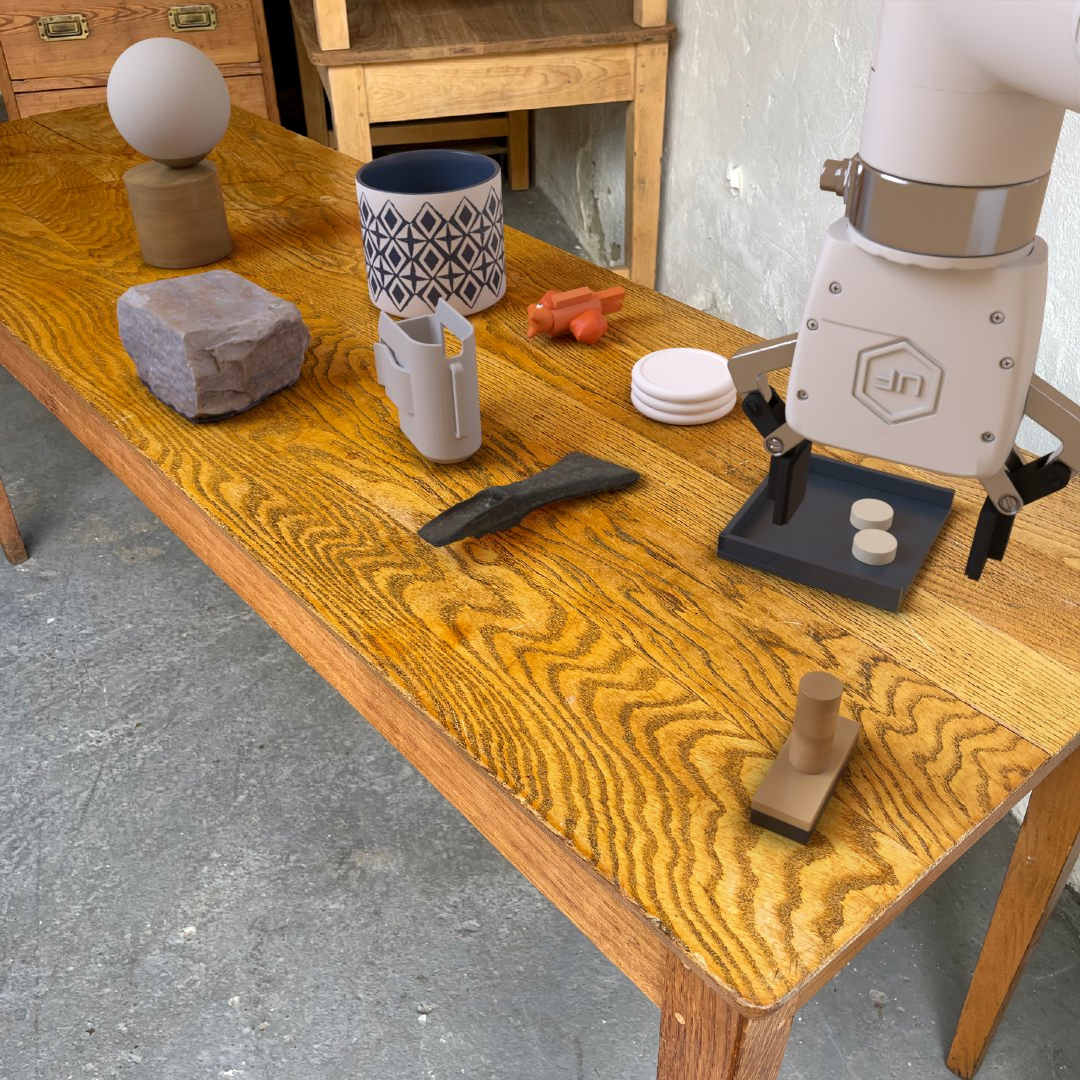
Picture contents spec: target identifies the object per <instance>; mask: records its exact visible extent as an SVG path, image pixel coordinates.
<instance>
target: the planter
mask: <svg viewBox="0 0 1080 1080" xmlns="http://www.w3.org/2000/svg"><path fill="white" fill-rule="evenodd" d="M354 179H355V187H356V188H355V189H356V196H357V197H356V198H357V206H358V215H359V223H360V231H361V239H362V247H363V256H364V261H365V262H364V264H365V271H366V279H367V286H368V293H369V299H370V301H371V302H372V304H373V306H375V307H376V308H378V310H380V311H384V312H385V313H386V314H389V315H391V316H394V317H398V318H401V319H405V320H406V319H410V318H414V317H419V316H423V315H433V314H435V312H436V308H437V304H438V300H439V298H443V299H444V300H445V301H446V302H447V303H448V304H449V305H451V306H452V307H453V308H454V309H455V310H456V311H457V312H459V313H460V314H461V315H462V316H463V317H464V318H465V317H467V316H468V317H469V316H471V315H475V314H477V313H480V312H483V311H485V310H486V309H489V308H490V307H492V306H494V305H495V304H497V303H498V302H499V301H500V300H501V299H502V298H503V296H504V295H505V293H506V291H507V272H506V271H507V270H506V249H505V231H504V229H505V228H504V207H503V206H504V205H503V189H502V186H503V185H502V173H501V167H500V164H499V163H498V162H497V161H496V160H495V159H493V158H492V157H489V156H487V155H485V154H482V153H478V152H473V151H467V150H461V149H460V150H459V149H443V148H442V149H441V148H440V149H439V148H438V149H419V150H411V151H404V152H397V153H392V154H389V155H385V156H381V157H378V158H376V159H373V160H371V161H369V162H366V163H364V164H363V165H362V166H360V167H359V168H358V170H357V171H356V173H355V175H354Z"/></svg>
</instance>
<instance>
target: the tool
mask: <svg viewBox="0 0 1080 1080" xmlns="http://www.w3.org/2000/svg"><path fill="white" fill-rule="evenodd" d="M641 477H642V475H641V473H639V472H637V471H635V470H633V469H631V468H628V467H624V466H622V465H619V464H616V463H614V462H610V461H607V460H604V459H603V458H600V457H599V458H598V457H595V456H591V455H589V454H585V453H583V452H580V451H572V452H570V453H569V454H567V455H565V456H563V457H562V458H561V459H560V460H558V461H557V462H556V463H555V464H551V465H550V466H549V467H548V468H546V469H544V470H541V471H539V472H537V473H536V474H533V475H531V476H530V477H528V478H525V479H523V480H518V481H513V482H510V483H508V484H504V485H493V486H489V487H486V488H484V489H481V490H479V491H478V492H476V493H475V494H473V495H472V496H470V497H468V498H467V499H464V500H463V501H459V502H456V503H454V504H453V505H452V506H451V507H448V508H447V509H446V510H444V511H442V512H440V513H439V514H437V515H436V517H433V518H432V519H429V520H428V521H427V522H426V523H424V524H423V526H422V527H421V528H420V529H418V530H416V534H417V535H418V536H419V537H420V539H422V541H424V542H425V543H428V544H429V545H431V546H432V547H433V548H442V547H445V546H449V545H451V544H454V543H456V542H460V541H463V540H465V539H466V538H474V539H476V540H480V539H482V538H483V537H485V536H487V535H489V534H490V535H495V534H496V533H501V532H506V531H508V530H511V529H512V528H515V527H517V526H518V525H519V524H521V523H522V521H524V519H526V517H528V516H529V515H531V514H532V513H534V512H536V511H538V510H541V509H542V508H544V507H546V506H548V505H551V504H555V503H558V502H563V501H567V500H572V499H576V498H581V497H585V496H589V495H593V494H594V495H595V494H598V493H601V492H605V491H610V490H621V489H625V488H627V487H631V486H634V485H636V484H637V483H638V481H639V480H640V478H641Z"/></svg>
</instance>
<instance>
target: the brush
mask: <svg viewBox="0 0 1080 1080" xmlns="http://www.w3.org/2000/svg"><path fill="white" fill-rule="evenodd" d="M843 691H844V686H843V683H842V682H841V680H840V679H839V678H838V677H837V676H835V675H834V674H832V673H830V672H826V671H821V670H814V671H809V672H807V673H804V674H803V675H802V676H801V677H800V679H799V682H798V688H797V695H796V701H795V708H794V715H793V723H792V730H791V732H790V733H789V735H788V736H787V738H786V740H785V741H784V744H783V745H782V747H781V749H780V750H779V752H778V754H777V755H776V757H775V759H774V761H773V763H772V764H771V766H770V768H769V770H768V771H767V773H766V775H765V776H764V778H763V780H762V782H761V784H760V785H759V787H758V788H757V790H756V792H755V794H754V795H753V796H752V800H751V807H750V814H749V823H751V824H753V825H756V826H758V827H760V828H762V829H765V830H767V831H769V832H771V833H774V834H777V835H779V836H781V837H784V838H787V839H789V840H791V841H793V842H796V843H798V844H800V845H803V846H806V847H807V846H808V844H809V843H810V841H811V838H812V836H813V835H814V832H815V831H816V829H817V826H818V825H819V823H820V821H821V819H822V817H823V815H824V813H825V811H826V809H827V807H828V805H829V803H830V801H831V798H832V797H833V795H834V793H835V792H836V789H837V787H838V785H839V783H840V781H841V779H842V778H843V775H844V773H845V772H846V769H847V768H848V766H849V764H850V762H851V759H852V758H853V756H854V753H855V751H856V749H857V748H858V745H859V741H860V735H861V734H860V733H861V729H862V723H861V722H858V721H856V720H852V719H850V718H848V717H844V716H841V715H839V714H840V709H841V702H842V698H843Z"/></svg>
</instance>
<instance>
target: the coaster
mask: <svg viewBox="0 0 1080 1080" xmlns="http://www.w3.org/2000/svg"><path fill="white" fill-rule="evenodd" d="M728 360H729V359H727V358H726V357H725V356H723V355H721V354H718V353H717V352H713V351H710V350H707V349H703V348H700V349H699V348H694V347H673V348H672V347H671V348H665V349H660V350H656V351H653V352H650V353H648V354H646V355H644V356H643V357H641V358H640V359H638V360H637V361H636V362H635V363H634V364H633V367H632V369H631V374H630V375H631V383H630V384H631V385H630V388H631V391H630V399H631V402H632V405H633V406H634V407H635V409H636V410H637V411H638V412H639V413H641V414H642V415H644V416H645V417H647V418H649V419H651V420H654V421H657V422H660V423H664V424H667V425H668V424H669V425H677V426H695V425H704V424H707V423H710V422H711V423H712V422H714V421H717V420H719V419H721V418H723V417H725V416H727V414H730V412H732V411H733V409H734V407H735V405H736V402H737V393H738V392H737V390H736V387H735V385H734V382H733V380H732V378H731V375H730V373H729V370H728V367H727V363H728Z"/></svg>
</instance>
